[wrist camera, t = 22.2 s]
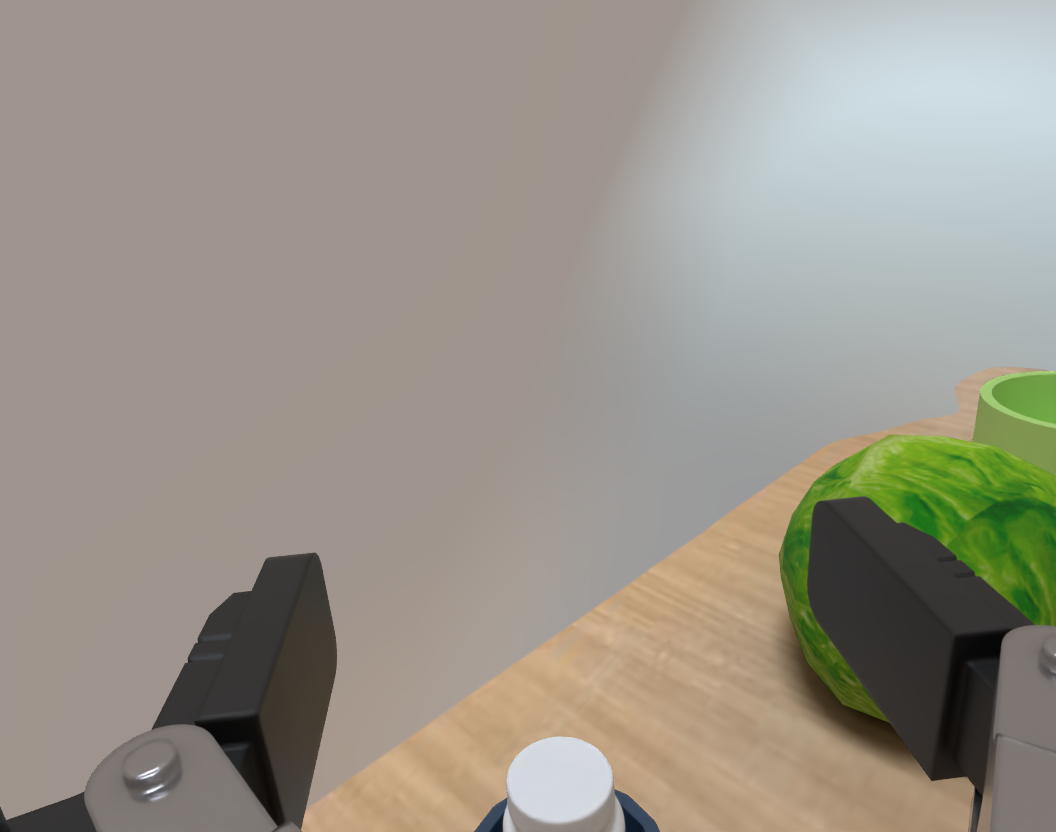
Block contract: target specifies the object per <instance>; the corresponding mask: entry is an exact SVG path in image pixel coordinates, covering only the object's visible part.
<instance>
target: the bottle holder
mask: <svg viewBox="0 0 1056 832" xmlns="http://www.w3.org/2000/svg"><path fill="white" fill-rule="evenodd" d="M614 791H615V796H616V797H617V799H618V801H619V803H620V805H621V807H622V810H623V814H624V820H625V827H626V832H660V831H659V828H658V826H657V824H656V822H655V821H654V820H653V819H652V818H651V817H650V816H649V815H648V814H647V813H646V812H645V811H644V810H643V809H642V808H641V807H640V806H639V805H638V804H637V803H636V802H635V801H634V800H633V799H632V798H631V797H629V796H628V795H626V794H624V793H622V792H620V791H617V790H615V789H614ZM506 807H507V798H506V799H504V800H503V801H501V802H499V803H498V804H496V805H495V806H494V807H493V808H492V809H491V810H490V812H489V813H488V814H487V816H486V817H485V818H484V820H483V821H482V822H481V823H480V825H479V826H478V827H477V829H476V830H475V831H474V832H503V818H504V813H505V809H506Z"/></svg>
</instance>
